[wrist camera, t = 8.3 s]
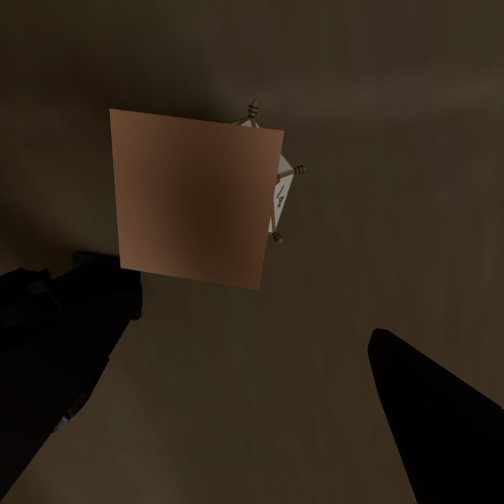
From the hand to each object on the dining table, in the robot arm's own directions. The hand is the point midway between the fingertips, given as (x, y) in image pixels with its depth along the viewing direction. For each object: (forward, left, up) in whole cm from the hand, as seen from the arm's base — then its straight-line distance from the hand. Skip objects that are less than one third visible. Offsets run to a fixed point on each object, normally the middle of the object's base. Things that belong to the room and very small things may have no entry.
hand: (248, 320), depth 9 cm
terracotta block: (-2, +4, -5) cm, 7 cm away
